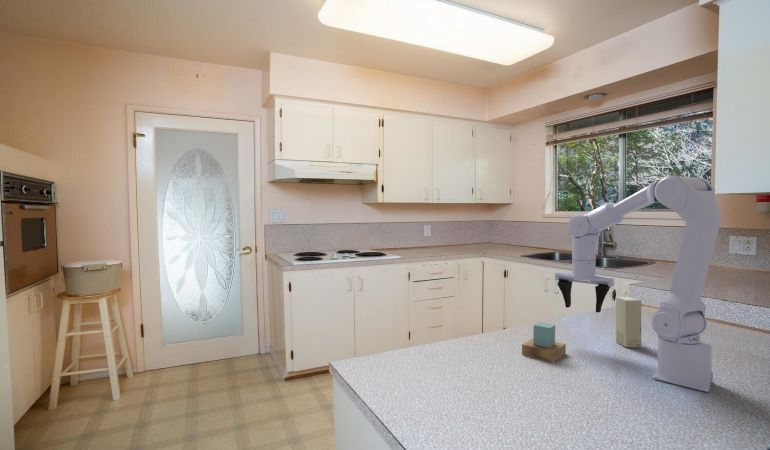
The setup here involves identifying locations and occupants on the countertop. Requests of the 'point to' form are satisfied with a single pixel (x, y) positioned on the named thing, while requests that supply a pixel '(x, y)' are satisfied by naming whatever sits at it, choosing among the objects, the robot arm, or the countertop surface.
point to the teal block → (544, 334)
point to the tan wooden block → (544, 351)
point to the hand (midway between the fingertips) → (582, 309)
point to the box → (628, 321)
